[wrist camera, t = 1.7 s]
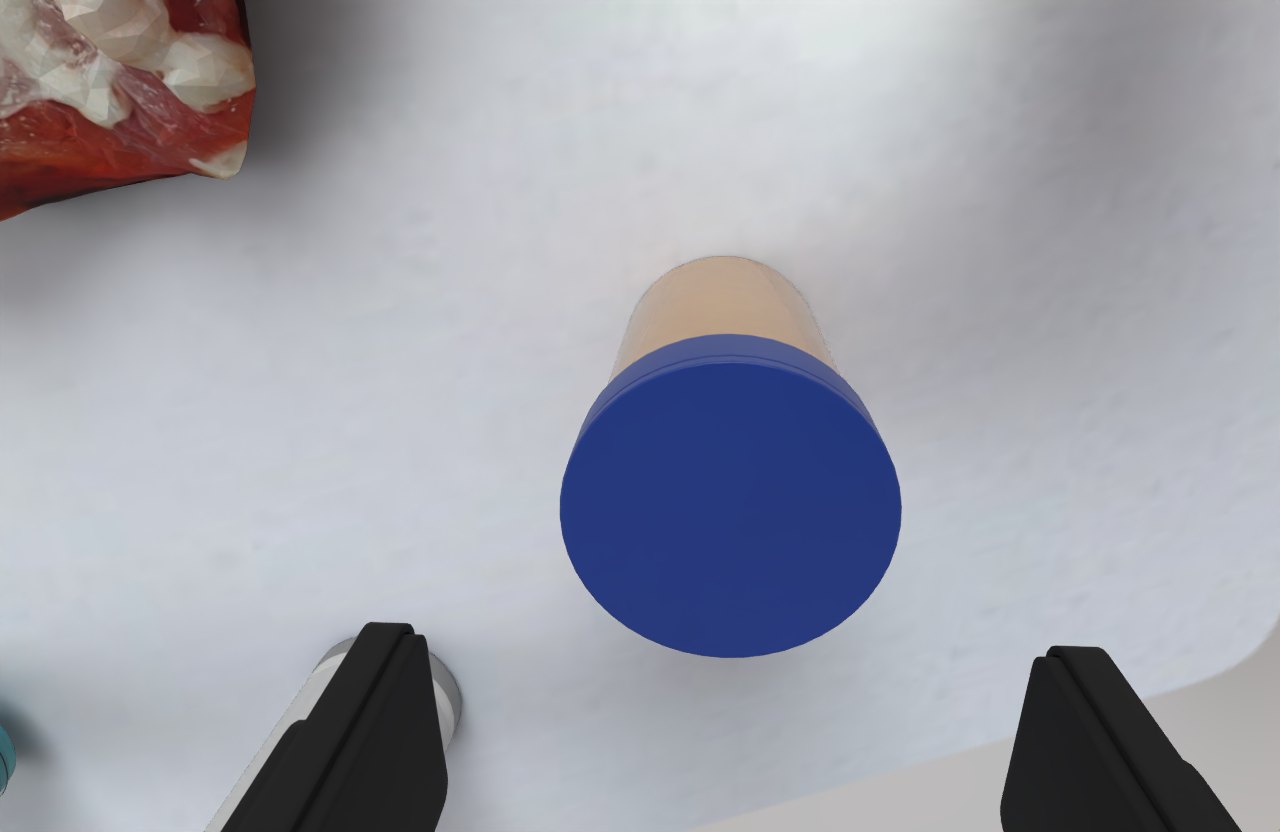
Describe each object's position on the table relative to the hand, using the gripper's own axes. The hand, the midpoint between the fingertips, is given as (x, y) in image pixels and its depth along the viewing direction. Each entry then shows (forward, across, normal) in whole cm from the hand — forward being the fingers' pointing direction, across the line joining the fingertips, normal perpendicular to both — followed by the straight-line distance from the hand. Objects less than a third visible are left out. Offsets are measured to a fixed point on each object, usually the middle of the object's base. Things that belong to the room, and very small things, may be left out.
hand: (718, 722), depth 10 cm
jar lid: (+6, 0, 0) cm, 6 cm away
